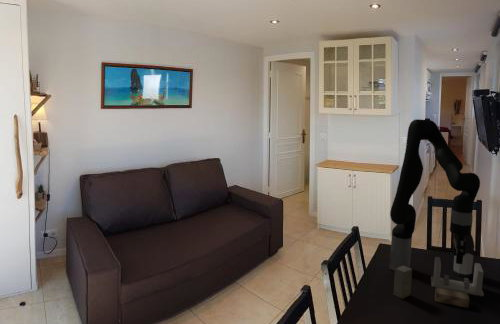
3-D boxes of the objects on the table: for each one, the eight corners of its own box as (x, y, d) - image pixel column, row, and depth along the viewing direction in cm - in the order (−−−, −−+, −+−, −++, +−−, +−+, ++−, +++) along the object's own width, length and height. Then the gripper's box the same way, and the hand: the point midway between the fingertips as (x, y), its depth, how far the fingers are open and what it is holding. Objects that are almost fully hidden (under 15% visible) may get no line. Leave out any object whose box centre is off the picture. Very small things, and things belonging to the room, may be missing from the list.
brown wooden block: (435, 301, 150) (436, 293, 149) (434, 296, 154) (435, 287, 154) (468, 308, 145) (469, 299, 144) (467, 302, 149) (467, 293, 149)
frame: (431, 286, 162) (433, 263, 160) (430, 278, 170) (432, 256, 168) (483, 296, 153) (486, 272, 152) (480, 287, 162) (482, 264, 160)
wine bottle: (466, 270, 178) (472, 212, 173) (475, 278, 170) (481, 217, 165) (449, 269, 179) (455, 211, 174) (457, 277, 171) (463, 216, 166)
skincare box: (402, 299, 151) (404, 272, 149) (392, 294, 155) (394, 268, 153) (410, 295, 154) (412, 268, 153) (401, 290, 158) (403, 264, 156)
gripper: (448, 215, 152) (445, 251, 155) (452, 225, 140) (449, 264, 142) (469, 217, 149) (465, 254, 152) (475, 228, 137) (470, 268, 139)
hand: (457, 259), depth 147 cm, fingers open, 8 cm apart
